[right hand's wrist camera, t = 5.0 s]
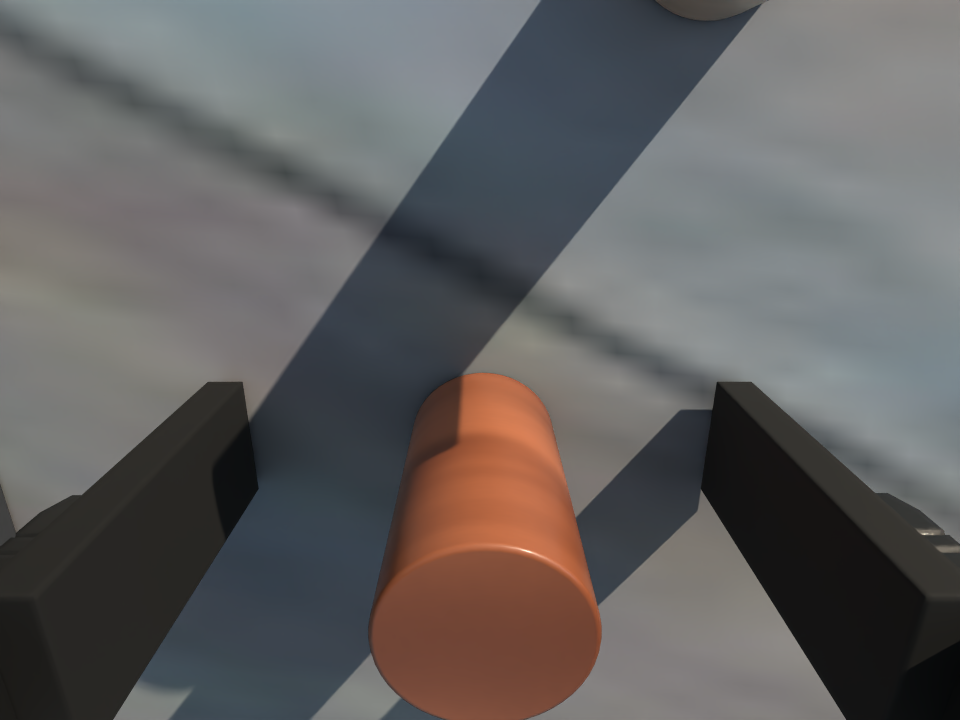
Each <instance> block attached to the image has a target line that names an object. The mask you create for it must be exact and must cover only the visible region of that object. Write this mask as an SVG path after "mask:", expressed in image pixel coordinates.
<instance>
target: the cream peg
mask: <svg viewBox="0 0 960 720" xmlns="http://www.w3.org/2000/svg"><path fill="white" fill-rule="evenodd" d="M655 1H656V2H658V3H659V4H660V5H661V6H662V7H664V8H666V9H667V10H669V11H671V12H672V13H674V14H677V15H679V16H682V17H685V18H689V19H693V20H703V21H710V20H720V19H725V18H729V17H732V16H735V15H738V14H740V13H743V12H745V11H747V10H749V9H751V8H753V7H755V6H758V5H760V4H762V3H764V2H766V1H768V0H655Z"/></svg>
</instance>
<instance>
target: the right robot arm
mask: <svg viewBox="0 0 960 720" xmlns="http://www.w3.org/2000/svg"><path fill="white" fill-rule="evenodd" d="M257 490H258V482H257V476H256V469H255V462H254V456H253V449H252V442H251V436H250V429H249V422H248V416H247V409H246V402H245V396H244V389H243V382H207V383H206V384H205V385H204V386H203V387H202V388H201V389H200V390H198V391H197V392H196V393H195V394H194V395H193V396H192V397H191V398H190V399H188V400H187V401H186V402H185V403H184V404H183V405H182V406H181V407H180V408H178V409H177V410H176V411H175V412H174V413H173V414H172V415H171V416H170V417H168V418H167V419H166V420H165V421H164V422H163V423H162V424H161V425H159V426H158V427H157V428H156V429H155V430H154V431H153V432H152V433H151V434H149V435H148V436H147V437H146V438H145V439H144V440H143V441H142V442H141V443H139V444H138V445H137V446H136V447H135V448H134V449H133V450H132V451H131V452H129V453H128V454H127V455H126V456H125V457H124V458H123V459H122V460H120V461H119V462H118V463H117V464H116V465H115V466H114V467H113V468H112V469H110V470H109V471H108V472H107V473H106V474H105V475H104V476H103V477H102V478H100V479H99V480H98V481H97V482H96V483H95V484H94V485H93V486H92V487H90V488H89V489H88V490H87V491H86V492H85V493H84V494H83V495H72V496H70V497H68V498H66V499H64V500H63V501H61V502H59V503H57V504H55V505H53V506H51V507H50V508H48V509H46V510H44V511H42V512H40V513H39V514H38V515H37V516H35V517H34V518H33V519H32V520H31V521H30V522H28V523H27V524H26V525H25V526H24V527H23V528H21V529H20V530H19V531H18V532H17V533H16V536H15V537H11V538H10V539H8V540H7V541H6V542H5V543H4V544H3V545H1V546H0V720H113V719H114V717H115V716H116V714H117V713H118V711H119V709H120V708H121V706H122V705H123V703H124V701H125V700H126V698H127V697H128V695H129V694H130V692H131V690H132V689H133V687H134V686H135V684H136V682H137V681H138V679H139V678H140V676H141V674H142V673H143V671H144V670H145V668H146V667H147V665H148V663H149V662H150V660H151V659H152V657H153V655H154V654H155V652H156V651H157V649H158V648H159V646H160V644H161V643H162V641H163V640H164V638H165V636H166V635H167V633H168V632H169V630H170V628H171V627H172V625H173V624H174V622H175V621H176V619H177V617H178V616H179V614H180V613H181V611H182V609H183V608H184V606H185V605H186V603H187V601H188V600H189V598H190V597H191V595H192V594H193V592H194V590H195V589H196V587H197V586H198V584H199V582H200V581H201V579H202V578H203V576H204V575H205V573H206V571H207V570H208V568H209V567H210V565H211V563H212V562H213V560H214V559H215V557H216V555H217V554H218V552H219V551H220V549H221V548H222V546H223V544H224V543H225V541H226V540H227V538H228V536H229V535H230V533H231V532H232V530H233V529H234V527H235V525H236V524H237V522H238V521H239V519H240V517H241V516H242V514H243V513H244V511H245V509H246V508H247V506H248V505H249V503H250V502H251V500H252V498H253V497H254V495H255V494H256V492H257ZM701 490H702V491H703V493H704V495H705V496H706V498H707V499H708V501H709V502H710V504H711V506H712V507H713V509H714V510H715V512H716V514H717V515H718V517H719V518H720V520H721V522H722V523H723V525H724V526H725V528H726V529H727V531H728V533H729V534H730V536H731V537H732V539H733V541H734V542H735V544H736V545H737V547H738V549H739V550H740V552H741V553H742V555H743V556H744V558H745V560H746V561H747V563H748V564H749V566H750V568H751V569H752V571H753V572H754V574H755V575H756V577H757V579H758V580H759V582H760V583H761V585H762V587H763V588H764V590H765V591H766V593H767V595H768V596H769V598H770V599H771V601H772V602H773V604H774V606H775V607H776V609H777V610H778V612H779V614H780V615H781V617H782V618H783V620H784V621H785V623H786V625H787V626H788V628H789V629H790V631H791V633H792V634H793V636H794V637H795V639H796V641H797V642H798V644H799V645H800V647H801V648H802V650H803V652H804V653H805V655H806V656H807V658H808V660H809V661H810V663H811V664H812V666H813V668H814V669H815V671H816V672H817V674H818V675H819V677H820V679H821V680H822V682H823V683H824V685H825V687H826V688H827V690H828V691H829V693H830V694H831V696H832V698H833V699H834V701H835V702H836V704H837V706H838V707H839V709H840V710H841V712H842V714H843V715H844V717H845V718H846V720H960V544H959V543H958V542H957V541H955V540H954V539H953V538H952V537H951V536H950V535H945V534H944V530H942V529H941V528H940V527H939V526H938V525H937V524H935V523H934V522H933V521H932V520H931V519H929V518H928V517H927V516H926V515H925V514H924V513H922V512H921V511H920V510H918V509H916V508H914V507H912V506H911V505H909V504H907V503H905V502H903V501H901V500H899V499H898V498H896V497H894V496H892V495H890V494H888V493H875V492H873V491H872V490H871V489H870V488H869V487H868V486H867V485H866V484H864V483H863V482H862V481H861V480H860V479H859V478H858V477H857V476H856V475H854V474H853V473H852V472H851V471H850V470H849V469H848V468H847V467H846V466H844V465H843V464H842V463H841V462H840V461H839V460H838V459H837V458H836V457H834V456H833V455H832V454H831V453H830V452H829V451H828V450H827V449H825V448H824V447H823V446H822V445H821V444H820V443H819V442H818V441H817V440H815V439H814V438H813V437H812V436H811V435H810V434H809V433H808V432H807V431H805V430H804V429H803V428H802V427H801V426H800V425H799V424H798V423H797V422H795V421H794V420H793V419H792V418H791V417H790V416H789V415H788V414H786V413H785V412H784V411H783V410H782V409H781V408H780V407H779V406H778V405H776V404H775V403H774V402H773V401H772V400H771V399H770V398H769V397H768V396H766V395H765V394H764V393H763V392H762V391H761V390H760V389H759V388H758V387H756V386H755V385H754V384H753V383H752V382H717V385H716V391H715V398H714V405H713V411H712V418H711V425H710V431H709V438H708V445H707V451H706V458H705V465H704V472H703V478H702V485H701Z"/></svg>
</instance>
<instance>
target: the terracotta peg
mask: <svg viewBox="0 0 960 720" xmlns="http://www.w3.org/2000/svg"><path fill="white" fill-rule="evenodd" d="M601 638H602V626H601V620H600V614H599V610H598V606H597V602H596V598H595V594H594V590H593V586H592V582H591V578H590V574H589V570H588V566H587V562H586V558H585V554H584V550H583V546H582V542H581V538H580V534H579V530H578V526H577V522H576V518H575V514H574V510H573V506H572V502H571V498H570V495H569V491H568V487H567V483H566V479H565V475H564V471H563V467H562V463H561V459H560V455H559V451H558V447H557V443H556V439H555V435H554V431H553V427H552V423H551V420H550V417H549V414H548V412H547V410H546V408H545V406H544V404H543V403H542V401H541V400H540V399H539V398H538V397H537V395H536V394H535V393H534V392H533V391H531V390H530V389H529V388H528V387H526V386H525V385H523V384H522V383H520V382H518V381H516V380H514V379H512V378H509V377H506V376H503V375H498V374H492V373H474V374H468V375H463V376H460V377H457V378H454V379H452V380H450V381H448V382H446V383H444V384H443V385H441V386H439V387H438V388H437V389H436V390H434V391H433V392H432V393H431V394H430V395H429V396H428V397H427V399H426V400H425V401H424V403H423V404H422V405H421V407H420V409H419V411H418V413H417V416H416V419H415V422H414V426H413V431H412V435H411V439H410V444H409V448H408V452H407V457H406V461H405V466H404V470H403V474H402V479H401V483H400V487H399V492H398V496H397V500H396V505H395V509H394V514H393V518H392V522H391V527H390V531H389V535H388V540H387V544H386V549H385V553H384V557H383V562H382V566H381V570H380V575H379V579H378V583H377V588H376V592H375V597H374V601H373V605H372V610H371V614H370V620H369V626H368V639H369V645H370V650H371V653H372V656H373V659H374V662H375V665H376V667H377V669H378V671H379V672H380V674H381V676H382V677H383V679H384V680H385V681H386V683H387V684H388V685H389V686H390V687H391V688H392V689H393V691H394V692H395V693H396V694H398V695H399V696H400V697H401V698H402V699H404V700H405V701H406V702H408V703H409V704H411V705H413V706H414V707H416V708H417V709H419V710H421V711H423V712H426V713H428V714H430V715H432V716H435V717H438V718H441V719H444V720H525V719H528V718H531V717H534V716H537V715H540V714H542V713H544V712H546V711H548V710H550V709H552V708H554V707H555V706H557V705H558V704H560V703H562V702H563V701H564V700H566V699H567V698H568V697H569V696H571V695H572V694H573V693H574V692H575V691H576V690H577V689H578V688H579V687H580V686H581V685H582V684H583V682H584V681H585V680H586V678H587V677H588V675H589V674H590V672H591V670H592V668H593V666H594V664H595V662H596V659H597V656H598V653H599V649H600V644H601Z"/></svg>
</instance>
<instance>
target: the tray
mask: <svg viewBox="0 0 960 720" xmlns="http://www.w3.org/2000/svg"><path fill="white" fill-rule="evenodd" d="M15 536H16V532H15V529H14V526H13V522H12V519H11V516H10V513H9V510H8V507H7V504H6V501H5V498H4V495H3V492H2V488H1V485H0V546H1V545H3V544H4V543H5V542H6V541H7V540H8V539H10V538H11V537H15Z"/></svg>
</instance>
